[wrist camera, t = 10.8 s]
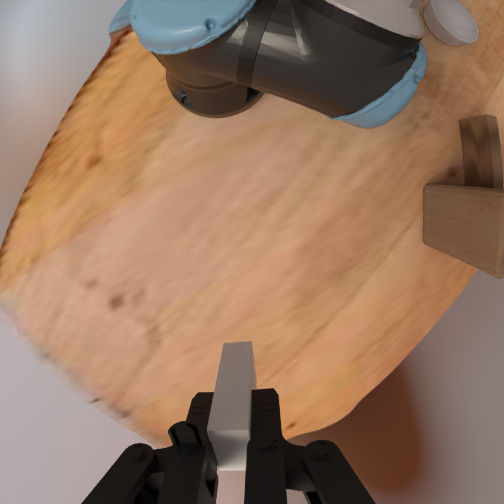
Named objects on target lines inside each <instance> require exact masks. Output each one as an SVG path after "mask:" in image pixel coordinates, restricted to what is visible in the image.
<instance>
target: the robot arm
mask: <svg viewBox="0 0 504 504" xmlns="http://www.w3.org/2000/svg"><path fill="white" fill-rule="evenodd" d="M422 2H423V0H132V3H131V7H130V22H131V25H132V28H133V30H134V31H135V33H136V34H137V36H138V38H139V41H140V43H141V44H142V46H144V47H145V48H146V49H149V51H150V52H151V53H152V54H153V55H154V56H155V57H156V58H157V60H158V61H159V62H160V63H161V64H162V65H163V66H164V68H165V69H166V80H167V85H168V87H169V90H170V92H171V94H172V95H173V97H174V98H175V99H176V100H177V101H178V102H179V103H180V104H181V105H182V106H183V107H184V108H185V109H187V110H188V111H190V112H192V113H194V114H196V115H199V116H203V117H208V118H223V117H229V116H233V115H236V114H238V113H241V112H243V111H245V110H246V109H248V108H250V107H251V106H252V105H253V104H255V103H256V102H257V101H258V100H259V99H260V97H261V96H262V95H263V93H264V92H266V93H269V94H272V95H275V96H278V97H281V98H284V99H286V100H289V101H292V102H295V103H297V104H300V105H303V106H305V107H308V108H310V109H313V110H316V111H318V112H321V113H323V114H325V116H327V117H328V118H330V119H335V120H341V121H344V122H346V123H349V124H351V125H354V126H356V127H359V128H366V129H368V128H375V127H378V126H381V125H383V124H385V123H387V122H388V121H390V120H391V119H392V118H394V117H395V116H396V115H397V114H398V113H399V112H400V111H401V110H402V109H403V108H404V107H405V106H406V105H407V104H408V103H409V101H410V100H411V99H412V97H413V96H414V94H415V92H416V91H417V89H418V86H417V83H418V82H419V81H420V80H421V79H422V78H423V77H424V74H425V71H426V67H427V54H426V50H425V48H424V47H423V45H422V44H421V42H420V41H421V39H422V38H423V36H424V34H425V29H424V26H423V24H422V21H421V18H420V15H419V7H420V5H421V3H422ZM256 383H257V381H256V373H255V365H254V356H253V348H252V341H249V342H235V343H224V345H223V350H222V355H221V360H220V365H219V370H218V375H217V380H216V386H215V391H214V392H198V393H197V394H196V395H195V397H194V398H193V399H192V401H191V405H190V408H189V412H188V415H187V419H186V421H181V422H178V423H175V424H174V425H173V426H171V427H170V428H169V430H168V434H169V436H170V438H171V441H172V443H173V445H172V446H170V447H167V448H162V449H155V450H153V449H152V447H151V446H149V445H147V444H143V443H137V444H133V445H131V446H129V447H128V448H126V449H125V451H124V452H123V453H122V454H121V455H120V457H119V458H118V460H116V462H115V463H114V464H113V465H112V467H111V468H110V469H109V470H108V472H107V473H106V474H105V476H104V477H103V478H102V479H101V480H100V481H99V483H98V484H97V485H96V486H95V488H94V489H93V490H92V492H91V493H90V494H89V495H88V496H87V497H86V499H85V500H84V501H83V502H82V503H81V504H216V497H217V489H218V475H217V465H218V467H219V470H246V476H245V497H244V504H287V494H286V489H291V490H297V491H303V494H304V496H305V498H306V500H307V502H308V504H376V503H375V502H374V500H373V499H372V498H371V496H370V495H369V493H368V492H367V490H366V489H365V487H364V486H363V484H362V483H361V481H360V480H359V478H358V477H357V475H356V474H355V473H354V471H353V469H352V468H351V466H350V465H349V463H348V462H347V460H346V459H345V457H344V456H343V454H342V452H341V451H340V449H339V448H338V446H336V445H335V444H334V443H333V442H330V441H328V440H317V441H313V442H311V443H309V444H308V445H307V446H299V445H294V444H291V443H289V442H288V441H286V440H285V439H284V437H283V435H282V430H281V418H280V406H279V395H278V394H277V392H276V391H275V390H274V388H270V389H257V390H256Z"/></svg>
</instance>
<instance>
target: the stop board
mask: <svg viewBox="0 0 504 504" xmlns="http://www.w3.org/2000/svg"><path fill="white" fill-rule="evenodd" d="M459 125H460V132H461V140H462V149H463V160H464V173H465V186H472V187H483V188H493V189H502V190H503V173H502V159H501V148H500V140H499V132H498V125H497V119H496V117H495V116H490V115H483V116H478V117H474V118H469V119H465V120H460V121H459Z"/></svg>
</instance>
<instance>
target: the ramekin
mask: <svg viewBox="0 0 504 504" xmlns="http://www.w3.org/2000/svg"><path fill="white" fill-rule="evenodd" d="M423 15H424V20H425V23H426V25H427V27H428V28H429V30H430V31H431V32H432V33H433V34H434V35H435V36H436V37H437V38H438V39H439V40H440V41H442V42H444V43H446V44H448V45H451V46H460V45H465V44H472V43H474V42H475V41H476V40H477V38H478V35H479V32H478V27H477V24H476V21H475V19H474V17H473V16H472V14H471V13H470V11H469V10H468V9H467V8H466V7H465V6H464V5H463V4H462V3H461V2H460V1H459V0H429V2H428V3H427V5H426V6H425V8H424V11H423Z"/></svg>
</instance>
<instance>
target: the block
mask: <svg viewBox="0 0 504 504" xmlns="http://www.w3.org/2000/svg"><path fill="white" fill-rule="evenodd" d="M423 242H424V244H425V245H428V246H430V247H432V248H434V249H437V250H439V251H441V252H443V253H446V254H448V255H450V256H452V257H455V258H457V259H459V260H461V261H463V262H465V263H468V264H470V265H472V266H474V267H476V268H478V269H480V270H482V271H485V272H486V273H488V274H490V275H493V276H495V277H496V278H498V279H500V278H504V190H502V189H493V188H483V187H472V186H460V185H443V184H428V185H426V186H424V216H423Z"/></svg>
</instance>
